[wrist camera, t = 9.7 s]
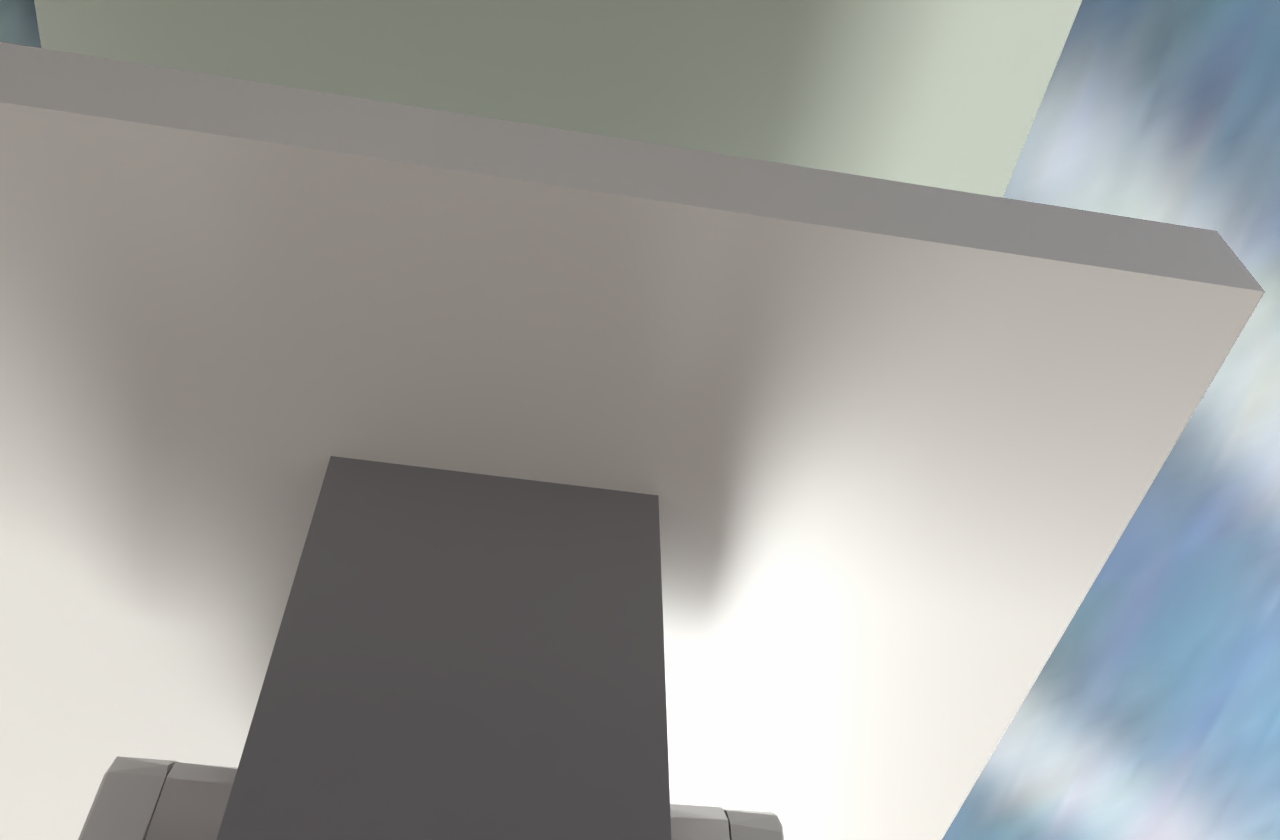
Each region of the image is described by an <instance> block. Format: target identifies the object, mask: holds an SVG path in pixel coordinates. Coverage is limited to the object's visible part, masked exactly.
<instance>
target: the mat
mask: <svg viewBox="0 0 1280 840" xmlns="http://www.w3.org/2000/svg"><path fill="white" fill-rule="evenodd" d="M1081 2H1082V0H34V3H35V10H36V16H37V23H38V29H39V36H40V42H41V48H44V49H50V50H56V51H63V52H69V53H76V54H82V55H88V56H95V57H101V58H108V59H114V60H121V61H127V62H133V63H140V64H146V65H153V66H159V67H166V68H172V69H178V70H185V71H191V72H198V73H204V74H211V75H217V76H223V77H230V78H236V79H243V80H249V81H256V82H262V83H268V84H275V85H281V86H288V87H294V88H300V89H307V90H313V91H320V92H326V93H333V94H339V95H345V96H352V97H358V98H365V99H371V100H378V101H384V102H390V103H397V104H403V105H410V106H416V107H423V108H429V109H435V110H442V111H448V112H455V113H461V114H467V115H474V116H480V117H487V118H493V119H500V120H506V121H512V122H519V123H525V124H532V125H538V126H545V127H551V128H557V129H564V130H570V131H577V132H583V133H590V134H596V135H602V136H609V137H615V138H622V139H628V140H634V141H641V142H647V143H654V144H660V145H667V146H673V147H679V148H686V149H692V150H699V151H705V152H712V153H718V154H724V155H731V156H737V157H744V158H750V159H757V160H763V161H769V162H776V163H782V164H789V165H795V166H801V167H808V168H814V169H821V170H827V171H834V172H840V173H846V174H853V175H859V176H866V177H872V178H879V179H885V180H891V181H898V182H904V183H911V184H917V185H924V186H930V187H936V188H943V189H949V190H956V191H962V192H968V193H975V194H981V195H988V196H994V197H1001V198H1003V195H1004V193H1005V191H1006V188H1007V186H1008V183H1009V181H1010V178H1011V176H1012V173H1013V171H1014V168H1015V166H1016V163H1017V161H1018V158H1019V156H1020V153H1021V151H1022V148H1023V146H1024V143H1025V141H1026V138H1027V136H1028V133H1029V131H1030V129H1031V126H1032V124H1033V121H1034V119H1035V116H1036V114H1037V111H1038V109H1039V106H1040V104H1041V101H1042V99H1043V96H1044V94H1045V91H1046V89H1047V86H1048V84H1049V81H1050V79H1051V76H1052V74H1053V72H1054V69H1055V67H1056V64H1057V62H1058V59H1059V57H1060V54H1061V52H1062V49H1063V47H1064V44H1065V42H1066V39H1067V37H1068V34H1069V32H1070V29H1071V27H1072V24H1073V22H1074V19H1075V17H1076V14H1077V12H1078V10H1079V7H1080V5H1081Z"/></svg>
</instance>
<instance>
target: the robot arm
mask: <svg viewBox="0 0 1280 840" xmlns="http://www.w3.org/2000/svg"><path fill="white" fill-rule="evenodd" d="M237 769H238V768H237V767H226V766H215V765H204V764H193V763H182V762H178V761H171V760H158V759H146V758H133V757H120V756H117V757H116V759H115V760H114V761H113V763H112V764H111V766H110V767H109V769H108V770H107V771H106V773H105V774H104V776H103V779H102V781H101V784H100V786H99V789H98V791H97V794H96V796H95V799H94V801H93V804H92V806H91V809H90V811H89V814H88V816H87V819H86V821H85V823H84V826H83V828H82V831H81V833H80V836H79V838H78V840H217V836H218V833H219V830H220V826H221V823H222V820H223V816H224V813H225V809H226V806H227V803H228V799H229V796H230V793H231V789H232V786H233V783H234V779H235V776H236V773H237ZM670 817H671V840H784V834H783V826H782V824H781V822H780V820H779V818H778V816H777V815H776V814H774V813H773V812H761V811H748V810H734V809H723V808H722V807H711V806H697V805H682V804H670Z"/></svg>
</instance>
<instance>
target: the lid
mask: <svg viewBox="0 0 1280 840" xmlns="http://www.w3.org/2000/svg"><path fill="white" fill-rule="evenodd" d="M1264 293H1265V291H1264V290H1263V289H1262V287H1261V286H1260V285H1259V284H1258V282H1257V281H1256V280H1255V279H1254V277H1253V276H1252V275H1251V274H1250V272H1249V271H1248V270H1247V269H1246V267H1245V266H1244V265H1243V264H1242V262H1241V261H1240V260H1239V259H1238V257H1237V256H1236V255H1235V254H1234V252H1233V251H1232V250H1231V249H1230V247H1229V246H1228V245H1227V244H1226V242H1225V241H1224V240H1223V239H1222V237H1221V236H1220V235H1219V234H1218V232H1217V231H1213V230H1206V229H1200V228H1193V227H1187V226H1180V225H1174V224H1168V223H1161V222H1155V221H1148V220H1142V219H1135V218H1129V217H1123V216H1116V215H1110V214H1103V213H1097V212H1091V211H1084V210H1078V209H1071V208H1065V207H1058V206H1052V205H1046V204H1039V203H1033V202H1026V201H1020V200H1013V199H1007V198H1001V197H994V196H988V195H981V194H975V193H968V192H962V191H956V190H949V189H943V188H936V187H930V186H924V185H917V184H911V183H904V182H898V181H891V180H885V179H879V178H872V177H866V176H859V175H853V174H846V173H840V172H834V171H827V170H821V169H814V168H808V167H801V166H795V165H789V164H782V163H776V162H769V161H763V160H757V159H750V158H744V157H737V156H731V155H724V154H718V153H712V152H705V151H699V150H692V149H686V148H679V147H673V146H667V145H660V144H654V143H647V142H641V141H634V140H628V139H622V138H615V137H609V136H602V135H596V134H590V133H583V132H577V131H570V130H564V129H557V128H551V127H545V126H538V125H532V124H525V123H519V122H512V121H506V120H500V119H493V118H487V117H480V116H474V115H467V114H461V113H455V112H448V111H442V110H435V109H429V108H423V107H416V106H410V105H403V104H397V103H390V102H384V101H378V100H371V99H365V98H358V97H352V96H345V95H339V94H333V93H326V92H320V91H313V90H307V89H300V88H294V87H288V86H281V85H275V84H268V83H262V82H256V81H249V80H243V79H236V78H230V77H223V76H217V75H211V74H204V73H198V72H191V71H185V70H178V69H172V68H166V67H159V66H153V65H146V64H140V63H133V62H127V61H121V60H114V59H108V58H101V57H95V56H88V55H82V54H76V53H69V52H63V51H56V50H50V49H44V48H37V47H31V46H24V45H18V44H11V43H5V42H0V840H78V838H79V836H80V833H81V831H82V828H83V826H84V823H85V821H86V819H87V816H88V814H89V811H90V809H91V806H92V804H93V801H94V799H95V796H96V794H97V791H98V789H99V786H100V784H101V781H102V779H103V776H104V774H105V773H106V771H107V770H108V769H109V767H110V766H111V764H112V763H113V761H114V760H115V759H116V757H117V756H120V757H133V758H146V759H158V760H171V761H178V762H182V763H193V764H204V765H215V766H226V767H237V768H238V769H237V773H236V776H235V779H234V783H233V786H232V789H231V793H230V796H229V799H228V803H227V806H226V809H225V813H224V816H223V820H222V823H221V826H220V830H219V833H218V836H217V840H671V817H670V804H682V805H697V806H711V807H722V808H723V809H734V810H748V811H761V812H773V813H774V814H776V815H777V816H778V818H779V820H780V822H781V824H782V826H783V834H784V840H942V838H943V837H944V835H945V833H946V831H947V830H948V828H949V826H950V825H951V823H952V821H953V820H954V818H955V816H956V815H957V813H958V811H959V809H960V808H961V806H962V804H963V803H964V801H965V799H966V798H967V796H968V794H969V792H970V791H971V789H972V787H973V786H974V784H975V782H976V781H977V779H978V777H979V776H980V774H981V772H982V770H983V769H984V767H985V765H986V764H987V762H988V760H989V759H990V757H991V755H992V754H993V752H994V750H995V748H996V747H997V745H998V743H999V742H1000V740H1001V738H1002V737H1003V735H1004V733H1005V731H1006V730H1007V728H1008V726H1009V725H1010V723H1011V721H1012V720H1013V718H1014V716H1015V715H1016V713H1017V711H1018V709H1019V708H1020V706H1021V704H1022V703H1023V701H1024V699H1025V698H1026V696H1027V694H1028V692H1029V691H1030V689H1031V687H1032V686H1033V684H1034V682H1035V681H1036V679H1037V677H1038V676H1039V674H1040V672H1041V670H1042V669H1043V667H1044V665H1045V664H1046V662H1047V660H1048V659H1049V657H1050V655H1051V654H1052V652H1053V650H1054V648H1055V647H1056V645H1057V643H1058V642H1059V640H1060V638H1061V637H1062V635H1063V633H1064V631H1065V630H1066V628H1067V626H1068V625H1069V623H1070V621H1071V620H1072V618H1073V616H1074V615H1075V613H1076V611H1077V609H1078V608H1079V606H1080V604H1081V603H1082V601H1083V599H1084V598H1085V596H1086V594H1087V593H1088V591H1089V589H1090V587H1091V586H1092V584H1093V582H1094V581H1095V579H1096V577H1097V576H1098V574H1099V572H1100V570H1101V569H1102V567H1103V565H1104V564H1105V562H1106V560H1107V559H1108V557H1109V555H1110V554H1111V552H1112V550H1113V548H1114V547H1115V545H1116V543H1117V542H1118V540H1119V538H1120V537H1121V535H1122V533H1123V532H1124V530H1125V528H1126V526H1127V525H1128V523H1129V521H1130V520H1131V518H1132V516H1133V515H1134V513H1135V511H1136V509H1137V508H1138V506H1139V504H1140V503H1141V501H1142V499H1143V498H1144V496H1145V494H1146V493H1147V491H1148V489H1149V487H1150V486H1151V484H1152V482H1153V481H1154V479H1155V477H1156V476H1157V474H1158V472H1159V470H1160V469H1161V467H1162V465H1163V464H1164V462H1165V460H1166V459H1167V457H1168V455H1169V454H1170V452H1171V450H1172V448H1173V447H1174V445H1175V443H1176V442H1177V440H1178V438H1179V437H1180V435H1181V433H1182V432H1183V430H1184V428H1185V426H1186V425H1187V423H1188V421H1189V420H1190V418H1191V416H1192V415H1193V413H1194V411H1195V409H1196V408H1197V406H1198V404H1199V403H1200V401H1201V399H1202V398H1203V396H1204V394H1205V393H1206V391H1207V389H1208V387H1209V386H1210V384H1211V382H1212V381H1213V379H1214V377H1215V376H1216V374H1217V372H1218V371H1219V369H1220V367H1221V365H1222V364H1223V362H1224V360H1225V359H1226V357H1227V355H1228V354H1229V352H1230V350H1231V348H1232V347H1233V345H1234V343H1235V342H1236V340H1237V338H1238V337H1239V335H1240V333H1241V332H1242V330H1243V328H1244V326H1245V325H1246V323H1247V321H1248V320H1249V318H1250V316H1251V315H1252V313H1253V311H1254V310H1255V308H1256V306H1257V304H1258V303H1259V301H1260V299H1261V298H1262V296H1263V294H1264Z"/></svg>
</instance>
